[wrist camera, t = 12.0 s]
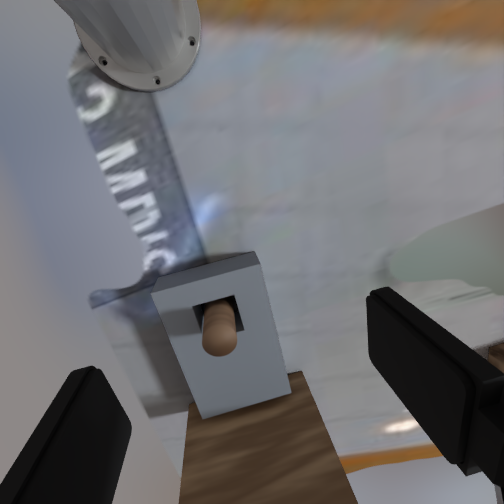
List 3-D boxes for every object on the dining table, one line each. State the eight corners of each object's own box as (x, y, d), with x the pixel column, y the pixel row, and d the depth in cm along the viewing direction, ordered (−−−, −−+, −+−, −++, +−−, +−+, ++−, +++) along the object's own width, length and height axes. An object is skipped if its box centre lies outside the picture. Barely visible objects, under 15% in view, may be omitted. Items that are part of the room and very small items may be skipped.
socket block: (158, 277, 37) (150, 293, 32) (254, 251, 38) (260, 263, 33) (203, 392, 44) (202, 419, 40) (283, 369, 45) (291, 392, 40)
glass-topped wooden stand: (168, 355, 41) (50, 843, 12) (291, 320, 42) (470, 687, 13) (191, 410, 45) (149, 876, 16) (303, 377, 46) (461, 755, 17)
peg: (201, 292, 39) (197, 332, 29) (228, 284, 39) (232, 322, 29) (209, 314, 40) (207, 360, 31) (235, 307, 40) (241, 351, 31)
